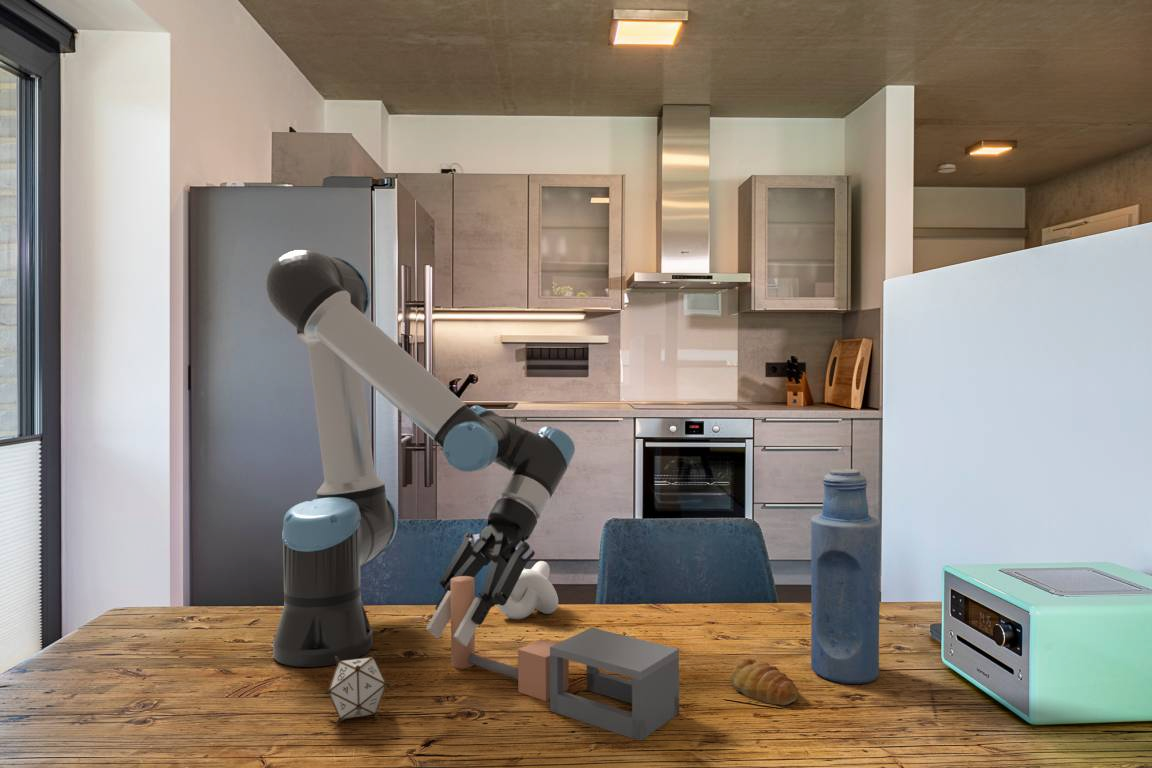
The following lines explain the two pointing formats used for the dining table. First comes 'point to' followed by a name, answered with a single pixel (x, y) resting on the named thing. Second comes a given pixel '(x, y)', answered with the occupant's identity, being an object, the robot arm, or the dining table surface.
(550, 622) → the dining table surface
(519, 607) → the white knot
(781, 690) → the pastry
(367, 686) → the game die
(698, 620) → the dining table surface
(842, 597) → the bottle
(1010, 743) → the dining table surface
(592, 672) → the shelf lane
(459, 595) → the block
